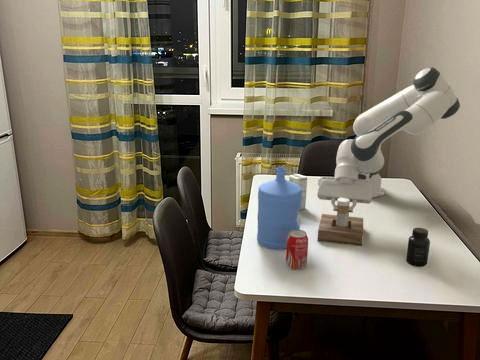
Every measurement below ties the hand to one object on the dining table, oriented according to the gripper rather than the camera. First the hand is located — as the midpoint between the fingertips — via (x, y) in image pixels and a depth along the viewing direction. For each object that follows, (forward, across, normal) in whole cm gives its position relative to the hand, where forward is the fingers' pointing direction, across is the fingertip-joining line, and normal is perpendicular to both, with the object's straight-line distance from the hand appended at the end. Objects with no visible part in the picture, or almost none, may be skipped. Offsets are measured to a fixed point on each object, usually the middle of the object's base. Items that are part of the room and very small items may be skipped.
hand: (343, 211), depth 181 cm
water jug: (+15, -22, -1) cm, 27 cm away
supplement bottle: (+18, +26, -4) cm, 32 cm away
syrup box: (-10, -20, +24) cm, 32 cm away
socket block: (+7, 0, +7) cm, 10 cm away
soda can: (+27, -13, -13) cm, 33 cm away
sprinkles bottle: (+6, 0, +6) cm, 9 cm away
